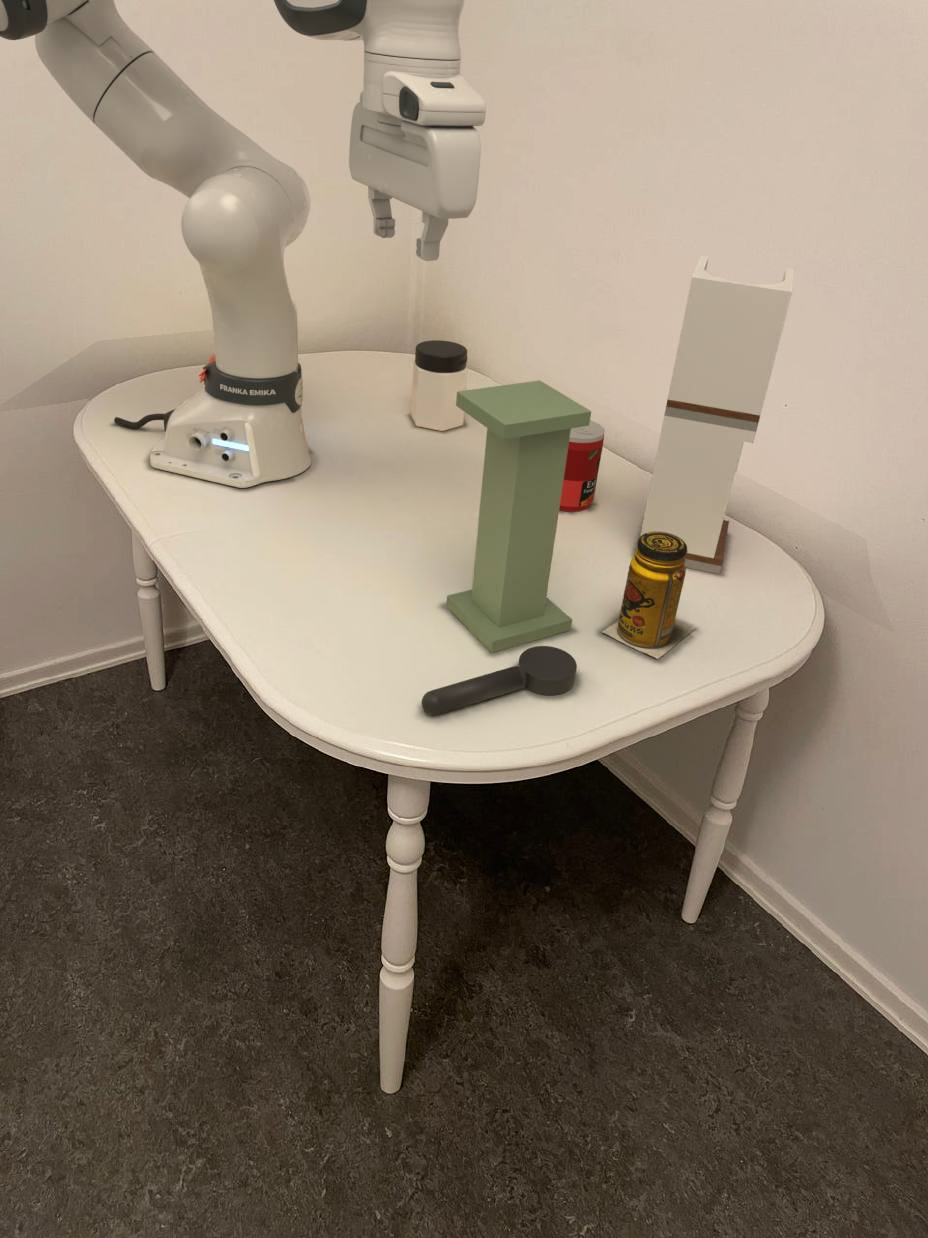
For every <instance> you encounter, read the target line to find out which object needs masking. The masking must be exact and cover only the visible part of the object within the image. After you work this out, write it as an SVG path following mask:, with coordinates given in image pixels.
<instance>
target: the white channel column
mask: <svg viewBox="0 0 928 1238" xmlns="http://www.w3.org/2000/svg"><path fill="white" fill-rule="evenodd" d="M709 259H710V256H708V255H700V258H699V260H698V262H697V265H696V266H695V269H694V272H693V274H692V276H691V280H690V284H689V289H688V295H687V300H686V305H685V310H684V315H683V319H682V324H681V330H680V334H679V339H678V346H677V350H676V355H675V358H674V359H675V360H674V364H673V365H674V366H673V369H672V375H671V380H670V385H669V390H668V394H667V399H666V404H665V405H666V406H665V410H664V415H663V420H662V426H661V430H660V434H659V440H658V445H657V450H656V455H655V461H654V465H653V470H652V475H651V480H650V485H649V490H648V494H647V495H648V496H647V500H646V505H645V509H644V515H643V520H642V524H641V530H640V535H639V537H640V536H642V535H643V534H645V533H648V532H655V531H656V532H666V533H670V534H673V535H676V536H677V537H679V538H681V539H682V540H683V541H684V542H685V544H686V545H687V553H686V556H685V559H686V561H685V563H684V565H685V567H686V568H687V569H693V570H698V571H701V572H702V571H703V572H707V573H711V574H717V575H720V573H721V571H722V570H721V569H722V566H723V563H724V557H725V550H726V543H727V537H728V531H729V524H730V520H726V519H725V515H726V511H727V507H728V503H729V500H730V495H731V491H732V487H733V483H734V479H735V476H736V472H737V471H738V467H739V463H740V459H741V455H742V451H743V447H744V443H749V444H750V443H751V444H754V441H755V438H756V434H757V430H758V427H759V423H760V418H761V415H762V412H763V406H764V403H765V399H766V396H767V391H768V388H769V383H770V379H771V376H772V372H773V368H774V364H775V362H776V361H775V360H776V356H777V353H778V349H779V346H780V341H781V337H782V335H783V334H782V333H783V329H784V325H785V322H786V318H787V315H788V311H789V307H790V302H791V299H792V296H793V288H794V287H793V286H794V271H795V270H794V268H790V267H785V268H784V269H785V270H784V273H783V276H782V277H783V278H782V280H781V282H778V283H769V284H760V283H748V282H740V281H734V280H730V279H727V278H722V277H720V276H716V275H713V274H711V273H709V272H708V271H707V268H708V263H709Z"/></svg>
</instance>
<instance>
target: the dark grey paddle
mask: <svg viewBox="0 0 928 1238" xmlns="http://www.w3.org/2000/svg"><path fill="white" fill-rule="evenodd" d="M577 668H578V665H577V661H576V659H575V657H573V656H572V655H571V654H570V653H569V652H567V651H566V650H564V649H561V648H558V647H555V646H551V645H537V646H532V647H528V648H527V649H525V650H524V651H522V653H521V654H520V656H519V659H518V664H517V665H514V666H510V667H506V668H503V669H499V670H497V671H493V672H489V673H486V674H483V675H480V676H476V677H473V678H470V679H466V680H462V681H459V682H456V683H452V684H449V685H445V686H441V687H438V688H435V689H432V690H429V691H427V692H425V693H424V695H423V696H422V699H421V708H422V710H423V711H424V712H425V713H426V714H428V715H432V716H436V715H441V714H444V713H446V712H450V711H453V710H456V709H459V708H463V707H466V706H470V705H473V704H476V703H479V702H482V701H486V700H489V699H492V698H495V697H499V696H502V695H506V694H508V693H513V692H515V691H518V690H519V691H520V690H521V689H523V688H525V689H526V690H527V691H529V692H532V693H534V694H538V695H542V696H559V695H563V694H565V693H568V692H569V691H570V690H571V689H572V688H573V686H574V684H575V679H576V674H577Z"/></svg>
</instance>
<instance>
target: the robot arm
mask: <svg viewBox="0 0 928 1238" xmlns="http://www.w3.org/2000/svg"><path fill="white" fill-rule="evenodd" d="M273 2H274V5H275V8H276V9H277V11H278V13H279V15H280V16H281V18H282V19H283V21H284V22H285V23H286V25H287V26H288V27H289V28H291V29H292V30H293V31H294V32H296V33H298V34H299V35H302V36H306V37H308V38H311V39H314V40H320V41H345V42H346V41H348V42H349V41H351V42H352V41H362V42H363V87H362V88H363V89H362V91H361V92H360V94H359V102H357V103H356V104H355V105H354V108H353V111H352V115H351V123H350V135H349V148H348V149H349V151H348V152H349V153H348V168H349V172H350V176H351V179H352V180H354V181H355V182H357V183H360V184H362V185H364V186H367V187H368V189H367V190H368V191H367V199H368V202H369V205H370V210H371V215H372V217H373V234H374V235H376V236H377V237H379V238H382V239H387V238H388V239H390V238H394V236H395V235H396V229H395V227H396V219H395V218H393V213H392V207H391V200H392V199H395V200H397V201H400V202H402V203H403V204H406V205H408V206H410V207H412V208H414V209H417V210H419V211H421V223H423V224H424V225H423V230H422V233H421V237H420V238H419V237H418V238H416V242H415V243H416V244H415V245H416V250H415V254H416V256H417V257H418V258H419V259H420V260H421V259H422V260H423V261H425V262H432V261H433V262H434V261H437V260H438V259H439V257H440V247H441V241H442V240H443V237H444V235H445V234H446V233H445V232H446V231H447V228H448V226H449V220H451V219H452V220H455V219H466V218H469V216H470V215H471V214H472V211H473V210H474V208H475V205H476V202H477V197H478V188H479V179H480V167H481V153H482V152H481V150H482V149H481V148H482V147H481V138H480V135H479V131H478V130H477V129H476V128H475V127H481V126H482V127H483V125H484V124H485V122H486V114H487V104H486V101H485V99H484V98H483V97H482V96H481V95H480V94H479V92H477V91H476V90H475V89H474V87H473V86H471V84H470V83H469V81H468V80H467V78H466V77H465V75H463V74H462V73H461V61H462V60H461V59H462V51H461V45H460V39H459V27H460V25H459V24H460V20H461V16H462V12H463V9H464V5H465V0H273ZM33 36H34V45H35V50H36V53H37V55H38V57H39V59H40V61H41V62H42V64H43V65H44V67H45V68H46V69H47V71H48V72H49V73H50V75H51V76H52V77H53V79H54V80H55V81H56V83H57V84H58V85H59V87H60V88H61V89H62V90H63V91H64V93H65V94H66V95H67V96H68V97H69V98H70V100H71V101H72V102H73V103H74V104H75V106H77V108H78V109H79V110H80V111H81V112H82V113H83V114H84V115H85V116H86V117H87V118H88V119H89V120H90V121H91V123H93V124H94V125H95V126H96V127H97V128H98V129H99V130H100V131H101V132H102V133H103V134H104V135H105V136H106V137H107V138H108V139H109V140H110V141H111V142H112V143H113V144H114V145H115V146H117V148H119V150H120V151H121V152H122V153H124V155H126V156H127V157H128V158H129V159H130V160H131V161H132V162H133V163H134V164H135V165H136V166H137V168H139V169H140V170H141V171H142V172H143V173H144V174H146V175H147V176H148V177H150V178H152V179H153V180H156V181H158V182H161V183H163V184H165V185H167V186H169V187H171V188H173V189H174V190H176V191H177V192H179V193H181V194H182V195H184V196H186V197H187V198H189V199H188V200H187V202H186V204H185V205H184V207H183V210H182V213H181V219H180V220H181V222H180V228H181V234H182V238H183V241H184V243H185V246H186V248H187V249H188V251H189V253H190V254H191V255H192V257H193V258H194V259H195V260H196V261H197V262H198V266H199V269H200V271H201V275H202V278H203V281H204V285H205V288H206V292H207V296H208V299H209V304H210V310H211V320H212V331H213V344H214V346H213V347H214V354H213V355H212V356H210V358H208V363H207V364H205V365H204V366H203V367H202V371H201V372H200V373H199V374H198V377H199V383H203V385H204V387H202V388H201V389H200V390H198V391H197V392H196V393H194V394H193V395H191V396H190V397H188V398H187V399H186V400H185V401H183V402H182V403H181V404H179V405H178V406H177V407H176V408H174V409H172V410H170V411H167V412H165V413H152V414H147V415H145V416H143V417H142V418H140V419H139V420H138V421H130V420H127V419H125V418H122V417H118V416H116V417H114V419H113V422H114V424H117V425H120V426H122V427H125V428H128V429H140V428H142V427H144V426H146V425H147V424H148V423H150V422H153V421H163V428H164V429H163V430H164V432H165V435H164V436H162V437H161V438H160V439H159V440H158V441H157V442H156V443H155V444H154V446H153V447H152V449H151V450H150V454H149V463H150V465H151V467H152V468H153V469H157V470H162V471H166V472H170V473H174V474H179V475H181V476H182V475H183V476H188V477H192V478H196V479H200V480H203V481H204V480H205V481H209V482H213V483H216V484H217V483H218V484H222V485H225V486H230V487H235V488H239V489H247V488H251V487H254V486H256V485H260V484H262V483H266V482H273V481H279V480H285V479H288V478H292V477H295V476H298V475H299V474H301V473H303V472H305V471H306V470H307V469H308V468H309V467H310V466H311V464H312V461H313V459H312V455H311V452H310V449H309V446H308V442H307V438H306V434H305V433H306V432H305V427H304V422H303V415H302V405H303V401H304V380H303V372H302V364H301V363H300V362H299V332H298V330H299V329H298V327H299V326H298V308H297V305H296V303H295V302H294V300H293V299H292V296H291V293H290V289H289V284H288V280H287V275H286V270H285V263H284V262H285V260H284V259H285V250H286V248H287V247H288V246H290V245H291V244H292V243H294V242H295V241H296V240H297V239H298V238H299V237H300V236H301V234H302V233H303V231H304V229H305V226H306V225H307V221H308V219H309V215H310V211H311V196H310V191H309V188H308V186H307V183H306V181H305V179H304V178H303V176H301V174H300V173H299V172H298V171H297V170H296V169H295V168H293V167H292V166H291V165H289V164H287V163H284V162H282V161H281V160H278V159H277V158H276V157H274V156H273V155H272V154H271V153H270V152H268V151H267V150H265V149H264V148H263V147H262V146H260V145H259V144H258V143H257V142H255V141H254V140H253V139H252V138H250V137H249V136H247V135H246V134H245V133H243V132H242V131H241V130H239V129H238V128H237V127H235V126H234V125H233V124H232V123H230V122H229V121H228V120H226V119H225V118H224V117H222V116H221V115H220V114H218V113H217V112H216V111H215V110H213V108H211V107H210V106H209V105H208V104H207V103H206V102H205V101H203V100H202V98H200V97H199V96H198V95H197V94H196V92H195V91H193V89H191V88H190V86H189V85H188V84H187V83H185V81H183V80H182V79H181V77H179V75H178V74H177V73H176V72H175V71H174V70H173V69H171V67H170V66H169V65H168V64H167V63H166V62H165V61H164V60H163V59H162V58H161V57H160V56H159V55H158V54H157V53H156V52H155V51H154V50H153V49H152V48H151V47H150V46H149V45H148V44H147V43H146V42H145V41H144V40H143V39H142V38H141V37H140V36H139V35H137V34H136V33H135V32H134V31H133V30H132V29H131V28H130V27H129V25H128V24H127V23H126V22H125V20H124V19H123V18H122V16H121V15H120V13H119V11H118V9H117V6H116V3H115V0H0V38H3V39H4V40H8V41H19V40H24V39H27V38H30V37H33Z"/></svg>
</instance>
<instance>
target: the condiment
mask: <svg viewBox="0 0 928 1238" xmlns="http://www.w3.org/2000/svg"><path fill="white" fill-rule="evenodd" d="M634 551H635V552H634V556H632V558H631V559H630V562H629V566H628V571H627V576H626V581H625V586H624V587H625V588H624V590H623V591H624V592H623V598H622V602H621V607H620V611H619V618H618V620H617V621H615V622H614V623H612V624H611V625H610V626H608V627H607V628H606V629H604V630H602V631H601V632H602V633H603V634H605V635H606V636H608V637H611V638H613V639H614V640H616V641H618V642H620V643H622V644H624V645H626V646H628V647H630V648H632V649H635V650H637V651H638V652H641V653H643V654H646V655H648V656H650V657H653V658H655V659H657V660H659V659H660V658H661V657H663V656H664V655H665V654H666V653H668V652H669V651H671V650H672V649H673V648H674V647H675V646H676V645H678V643H679V642H680V641H682V640H683V639H684V638H685V637H687V636H688V635H689V634H691V632H693V631H694V630H695V629H696V627H694V626H691V625H687V624H686V623H682V622H681V621H679V620H676V618H677V617H676V616H677V613H678V608H679V605H680V604H679V603H680V600H681V595H682V592H683V591H682V590H683V587H684V582H685V578H686V574H687V573H686V572H687V569H686V568H687V567H685V565H684V563H685V561H686V559H685V556H686V553H687V545H686V544H685V542H684V541H683V540H682V539H681V538H679V537H677V536H676V535H673V534H670V533H666V532H656V531H655V532H648V533H645V534H643V535H642V536H640V535H639V539H638V540H637V545H636V548H635V550H634Z"/></svg>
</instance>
